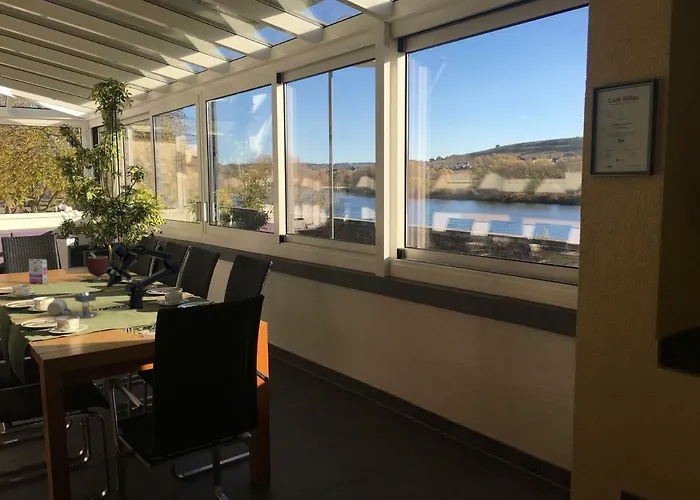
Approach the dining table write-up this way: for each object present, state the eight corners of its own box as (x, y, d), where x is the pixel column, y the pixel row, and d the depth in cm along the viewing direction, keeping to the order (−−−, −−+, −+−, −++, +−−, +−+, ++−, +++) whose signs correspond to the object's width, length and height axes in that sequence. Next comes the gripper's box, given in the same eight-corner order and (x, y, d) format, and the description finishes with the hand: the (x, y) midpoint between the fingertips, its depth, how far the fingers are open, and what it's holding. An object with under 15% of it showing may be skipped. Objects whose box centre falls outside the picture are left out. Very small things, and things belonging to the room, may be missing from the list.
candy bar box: (48, 283, 407) (47, 259, 405) (42, 284, 402) (41, 260, 400) (35, 282, 410) (34, 258, 408) (29, 283, 405) (28, 259, 404)
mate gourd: (113, 281, 418) (112, 252, 416) (96, 283, 406) (95, 254, 404) (99, 279, 426) (98, 251, 424) (82, 281, 415) (81, 252, 413)
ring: (88, 298, 305) (88, 293, 305) (95, 300, 301) (95, 294, 301) (75, 300, 300) (74, 294, 300) (82, 302, 295) (81, 296, 295)
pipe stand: (90, 313, 308) (89, 290, 307) (100, 315, 302) (99, 292, 301) (71, 316, 300) (70, 292, 299) (81, 319, 294) (80, 295, 293)
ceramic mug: (46, 316, 300) (46, 301, 299) (51, 313, 308) (51, 298, 307) (68, 316, 302) (68, 301, 301) (73, 313, 310) (73, 298, 309)
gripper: (105, 252, 317) (87, 276, 310) (124, 255, 306) (105, 279, 298) (120, 265, 324) (102, 288, 317) (139, 268, 312) (121, 292, 305)
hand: (107, 287), depth 309 cm, fingers closed
